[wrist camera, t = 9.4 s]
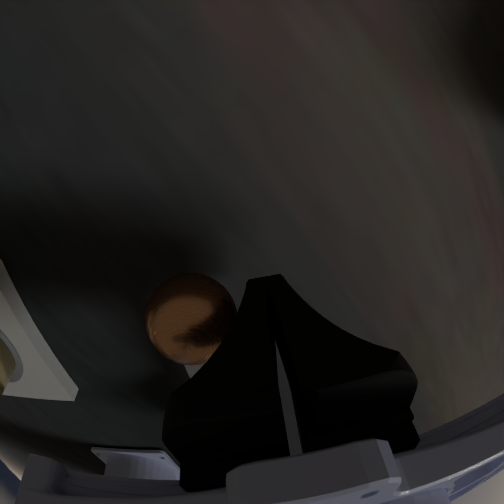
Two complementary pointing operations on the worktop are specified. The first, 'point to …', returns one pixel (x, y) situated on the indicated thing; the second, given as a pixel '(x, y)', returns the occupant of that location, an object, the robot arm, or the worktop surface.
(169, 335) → the lever
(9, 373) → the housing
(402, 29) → the worktop surface
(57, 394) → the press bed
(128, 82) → the worktop surface
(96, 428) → the worktop surface
